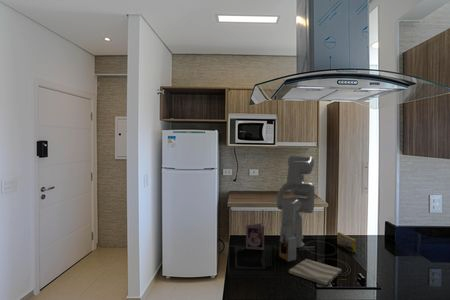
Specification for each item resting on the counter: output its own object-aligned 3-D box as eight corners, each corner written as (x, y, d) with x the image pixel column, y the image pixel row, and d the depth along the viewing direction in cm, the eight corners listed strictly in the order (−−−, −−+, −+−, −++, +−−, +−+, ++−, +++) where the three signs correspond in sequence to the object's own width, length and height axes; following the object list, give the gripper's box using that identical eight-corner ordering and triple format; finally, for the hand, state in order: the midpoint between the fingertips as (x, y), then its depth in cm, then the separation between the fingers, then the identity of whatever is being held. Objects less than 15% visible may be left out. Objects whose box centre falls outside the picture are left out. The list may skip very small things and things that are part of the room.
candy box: (336, 244, 194) (337, 232, 194) (339, 244, 195) (339, 232, 195) (353, 253, 179) (353, 240, 179) (356, 253, 179) (356, 239, 179)
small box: (278, 256, 171) (279, 235, 171) (287, 255, 174) (287, 233, 174) (287, 261, 164) (288, 239, 164) (296, 259, 167) (296, 237, 167)
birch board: (305, 261, 165) (305, 258, 165) (341, 272, 152) (341, 269, 152) (288, 272, 150) (288, 270, 150) (326, 285, 136) (326, 282, 136)
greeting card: (245, 249, 183) (246, 225, 182) (246, 245, 190) (246, 222, 190) (264, 250, 181) (264, 226, 181) (263, 246, 188) (264, 223, 188)
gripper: (289, 218, 178) (289, 245, 178) (275, 223, 164) (274, 253, 165) (300, 220, 173) (300, 248, 173) (286, 226, 160) (286, 256, 160)
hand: (287, 250), depth 169 cm, fingers open, 9 cm apart
